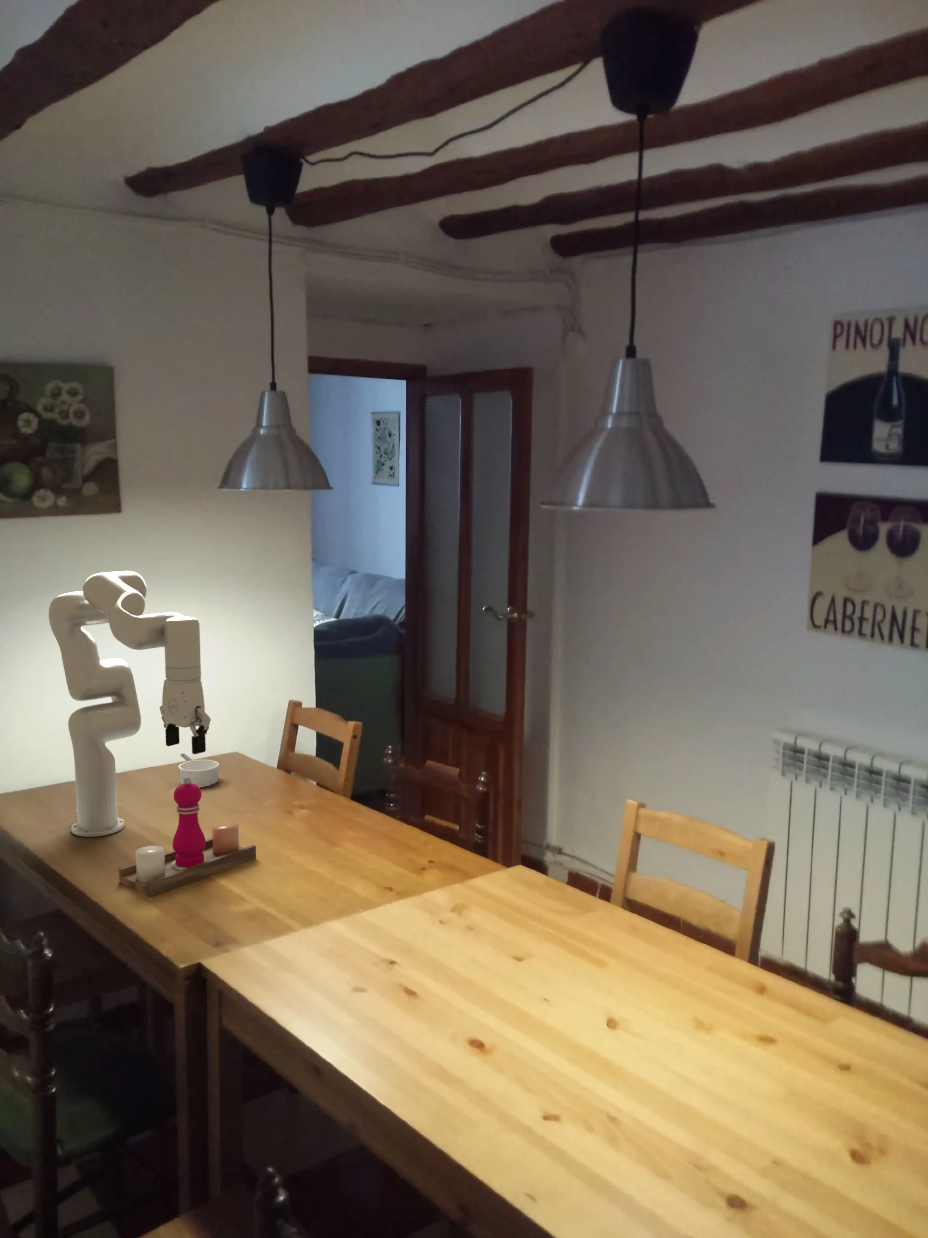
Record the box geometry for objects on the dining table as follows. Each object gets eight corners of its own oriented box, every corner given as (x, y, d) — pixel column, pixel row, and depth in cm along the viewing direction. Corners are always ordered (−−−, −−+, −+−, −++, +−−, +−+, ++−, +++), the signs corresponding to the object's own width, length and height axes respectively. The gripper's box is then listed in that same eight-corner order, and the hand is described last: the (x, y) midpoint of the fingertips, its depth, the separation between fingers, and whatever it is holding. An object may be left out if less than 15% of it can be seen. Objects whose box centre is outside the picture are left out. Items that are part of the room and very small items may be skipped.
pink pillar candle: (207, 851, 233) (206, 827, 232) (228, 844, 237) (227, 820, 236) (223, 858, 229) (222, 833, 228) (244, 850, 234) (243, 826, 233)
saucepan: (201, 768, 304) (201, 750, 303) (225, 785, 288) (225, 766, 287) (164, 774, 297) (163, 756, 297) (186, 792, 281) (186, 773, 280)
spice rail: (119, 882, 219) (118, 868, 218) (224, 846, 240) (223, 834, 240) (151, 897, 211) (150, 883, 211) (256, 859, 233) (255, 846, 232)
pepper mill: (187, 871, 221) (184, 784, 218) (166, 863, 225) (163, 778, 222) (213, 861, 226) (210, 776, 223) (192, 854, 231) (189, 770, 228)
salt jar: (131, 877, 217) (129, 851, 217) (155, 869, 222) (154, 843, 221) (146, 885, 214) (145, 858, 213) (170, 876, 218) (169, 850, 217)
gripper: (145, 670, 222) (148, 745, 224) (192, 681, 211) (194, 759, 214) (174, 665, 228) (177, 738, 230) (221, 676, 217) (223, 752, 219)
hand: (185, 748), depth 222 cm, fingers open, 9 cm apart
